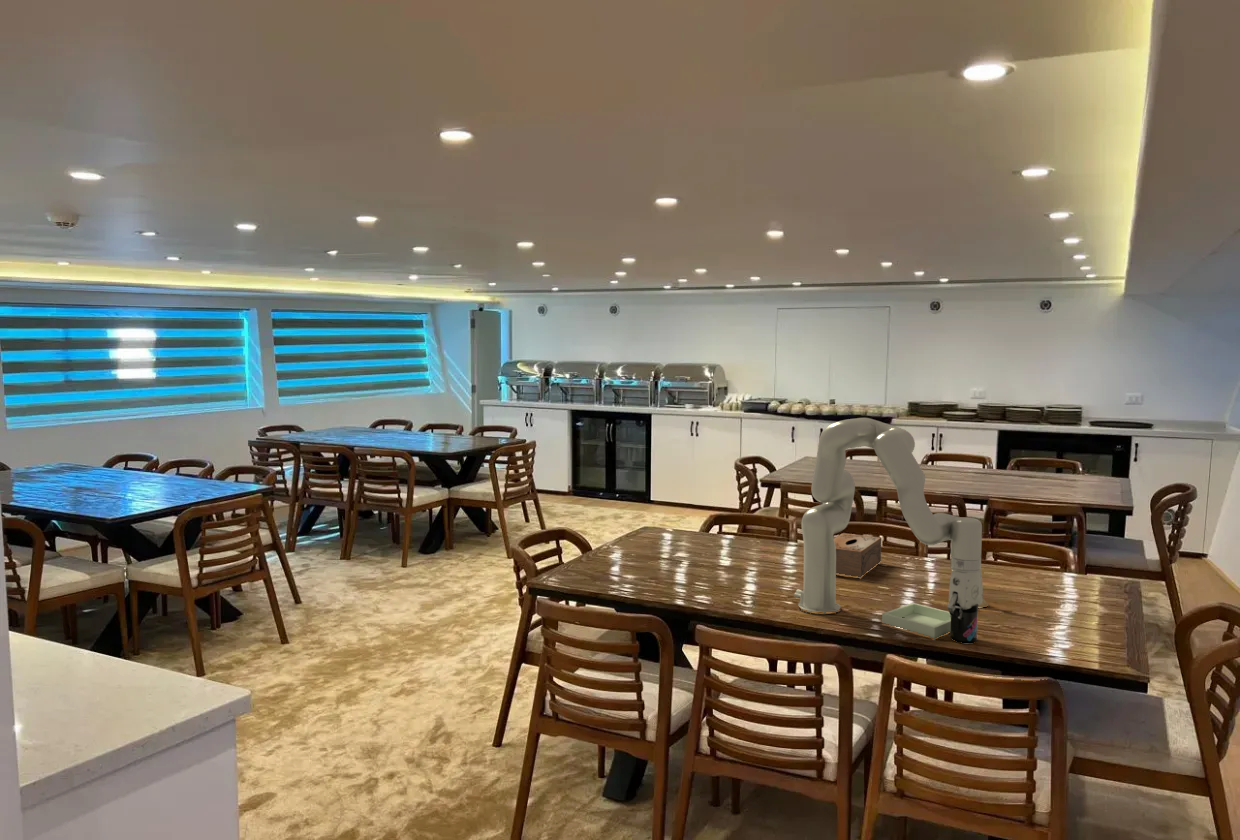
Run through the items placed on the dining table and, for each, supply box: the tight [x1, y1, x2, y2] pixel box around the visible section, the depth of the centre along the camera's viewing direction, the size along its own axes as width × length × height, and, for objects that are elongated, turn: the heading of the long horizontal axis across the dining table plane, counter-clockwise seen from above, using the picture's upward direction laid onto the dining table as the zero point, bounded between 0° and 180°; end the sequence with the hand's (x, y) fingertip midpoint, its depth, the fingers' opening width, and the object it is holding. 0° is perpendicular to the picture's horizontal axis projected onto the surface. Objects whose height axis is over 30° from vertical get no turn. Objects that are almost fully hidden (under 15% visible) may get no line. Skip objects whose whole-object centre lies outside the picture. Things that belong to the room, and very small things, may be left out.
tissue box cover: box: [833, 532, 882, 577], centre depth 294 cm, size 26×14×10 cm, turn 147°
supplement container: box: [949, 604, 979, 644], centre depth 219 cm, size 7×7×10 cm
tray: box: [881, 602, 951, 639], centre depth 231 cm, size 16×16×4 cm
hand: (963, 628), depth 219 cm, fingers closed on supplement container, 6 cm apart
